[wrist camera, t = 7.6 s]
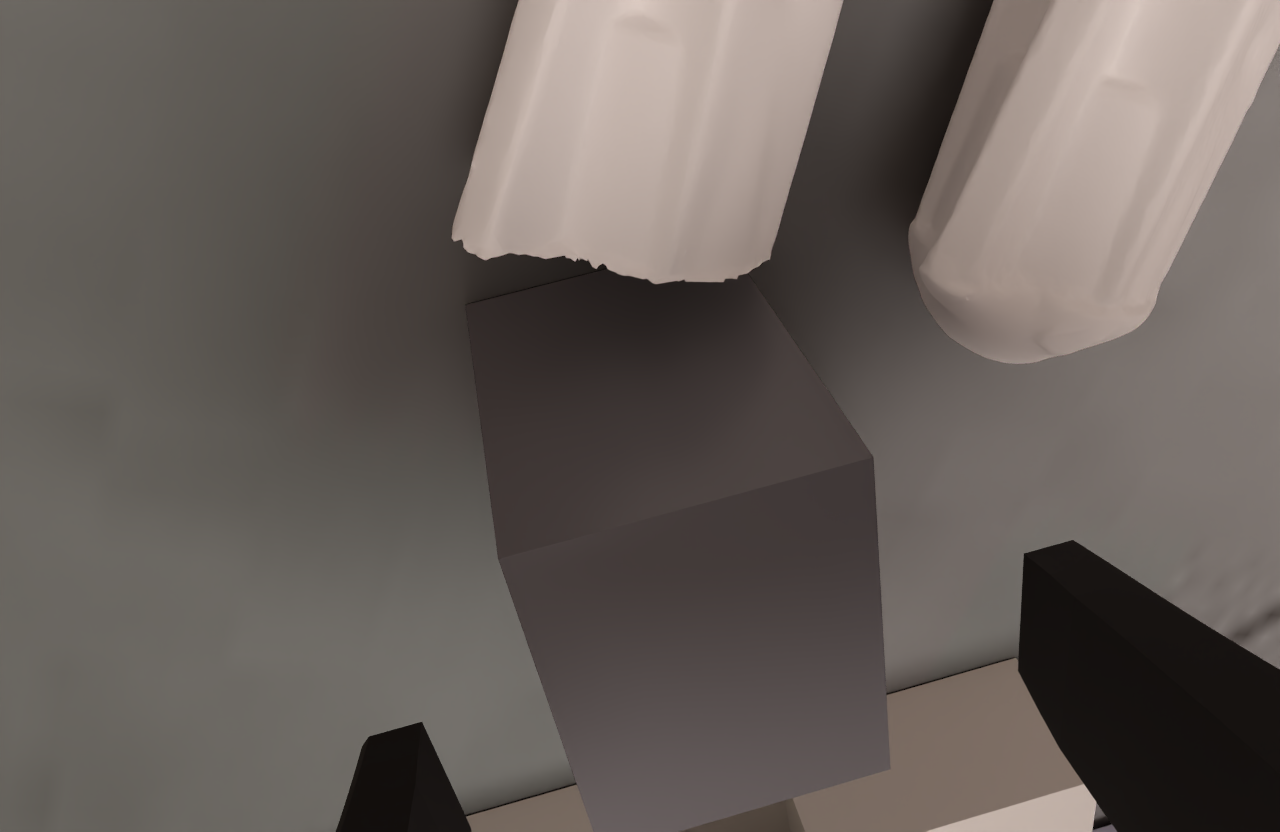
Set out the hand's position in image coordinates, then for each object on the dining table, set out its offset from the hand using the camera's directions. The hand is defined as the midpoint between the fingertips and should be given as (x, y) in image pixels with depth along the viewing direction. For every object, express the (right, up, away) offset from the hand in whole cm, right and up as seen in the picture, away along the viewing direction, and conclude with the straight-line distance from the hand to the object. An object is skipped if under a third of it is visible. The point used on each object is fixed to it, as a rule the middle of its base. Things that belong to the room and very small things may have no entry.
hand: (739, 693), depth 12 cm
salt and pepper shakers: (+3, +11, +4) cm, 12 cm away
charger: (-1, +2, +8) cm, 8 cm away
